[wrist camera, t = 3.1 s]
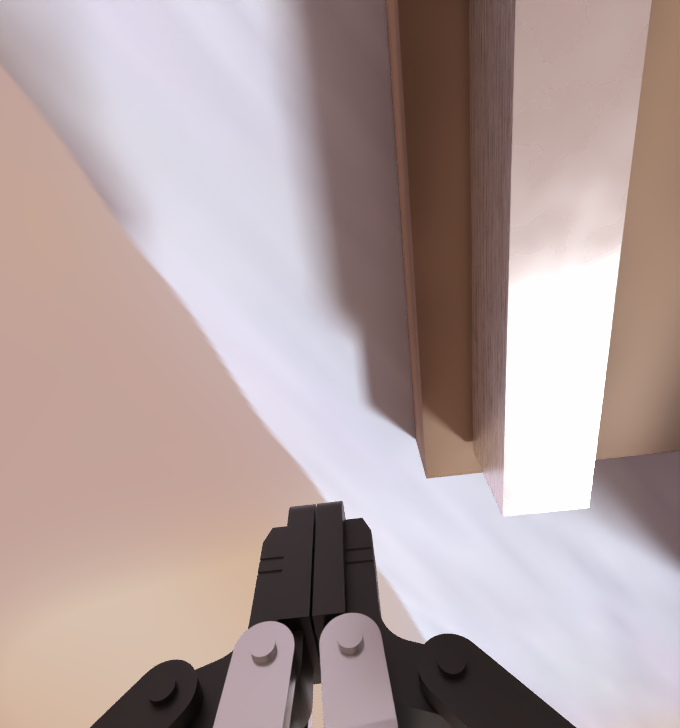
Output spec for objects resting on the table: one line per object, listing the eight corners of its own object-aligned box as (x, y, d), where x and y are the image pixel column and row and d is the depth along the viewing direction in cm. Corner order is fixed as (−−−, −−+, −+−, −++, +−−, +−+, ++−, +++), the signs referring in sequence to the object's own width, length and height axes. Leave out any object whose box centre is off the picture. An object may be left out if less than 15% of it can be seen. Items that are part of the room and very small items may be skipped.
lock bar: (426, -226, 12) (487, -462, 7) (631, -261, 12) (831, -525, 7) (449, 452, 21) (483, 545, 16) (567, 439, 20) (637, 529, 16)
